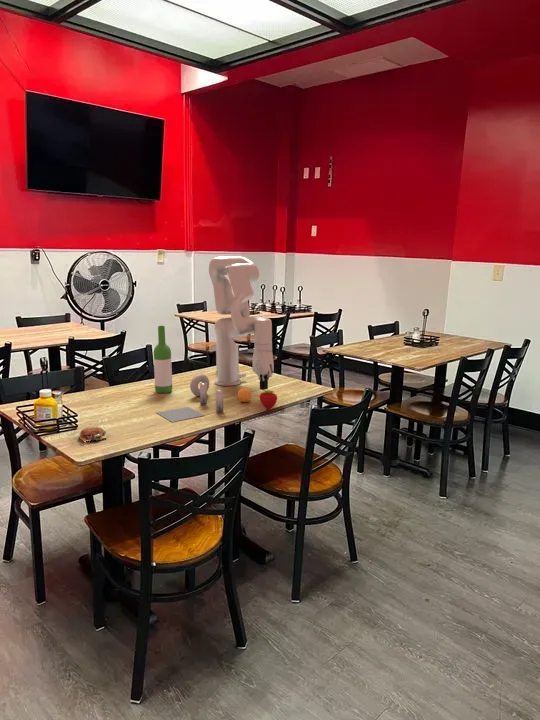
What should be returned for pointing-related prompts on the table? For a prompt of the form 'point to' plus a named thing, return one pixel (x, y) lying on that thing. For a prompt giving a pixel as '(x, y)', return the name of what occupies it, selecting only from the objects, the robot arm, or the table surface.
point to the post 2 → (219, 401)
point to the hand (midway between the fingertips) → (263, 389)
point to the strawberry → (268, 399)
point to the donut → (195, 382)
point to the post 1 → (203, 393)
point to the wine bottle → (162, 364)
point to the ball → (244, 395)
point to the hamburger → (92, 434)
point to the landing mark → (180, 414)
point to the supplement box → (237, 359)
